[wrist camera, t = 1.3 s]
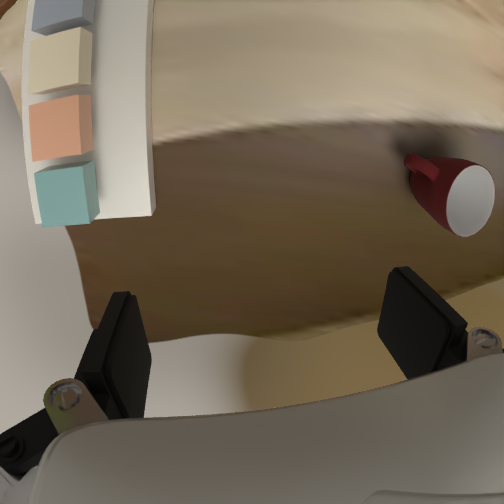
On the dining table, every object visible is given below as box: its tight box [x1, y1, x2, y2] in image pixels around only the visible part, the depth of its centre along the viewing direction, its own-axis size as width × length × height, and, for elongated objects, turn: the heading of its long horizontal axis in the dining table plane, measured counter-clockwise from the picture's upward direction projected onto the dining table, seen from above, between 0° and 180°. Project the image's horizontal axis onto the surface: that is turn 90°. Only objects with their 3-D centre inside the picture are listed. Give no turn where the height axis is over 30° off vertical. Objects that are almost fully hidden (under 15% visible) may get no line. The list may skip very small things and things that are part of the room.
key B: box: [29, 27, 93, 95], centre depth 21 cm, size 5×5×6 cm
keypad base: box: [22, 0, 156, 224], centre depth 26 cm, size 26×14×3 cm, turn 179°
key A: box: [31, 0, 96, 36], centre depth 19 cm, size 5×5×6 cm
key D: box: [34, 160, 100, 227], centre depth 26 cm, size 5×5×6 cm
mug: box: [404, 153, 495, 237], centre depth 31 cm, size 10×8×10 cm
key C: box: [29, 94, 93, 162], centre depth 24 cm, size 5×5×6 cm
